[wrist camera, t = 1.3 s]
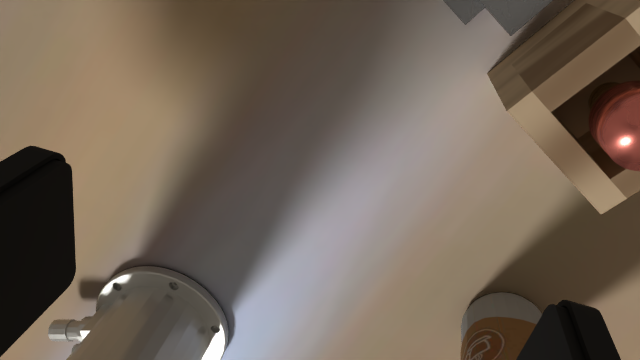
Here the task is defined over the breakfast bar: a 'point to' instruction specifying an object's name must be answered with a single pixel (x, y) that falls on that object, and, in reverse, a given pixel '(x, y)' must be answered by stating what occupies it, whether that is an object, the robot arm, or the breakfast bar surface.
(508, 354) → the coffee cup
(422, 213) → the breakfast bar surface
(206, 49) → the breakfast bar surface
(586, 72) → the small open wooden box
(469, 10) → the guide rail
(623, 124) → the button
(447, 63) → the breakfast bar surface
